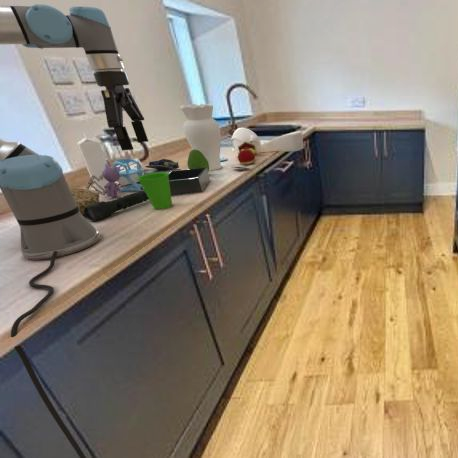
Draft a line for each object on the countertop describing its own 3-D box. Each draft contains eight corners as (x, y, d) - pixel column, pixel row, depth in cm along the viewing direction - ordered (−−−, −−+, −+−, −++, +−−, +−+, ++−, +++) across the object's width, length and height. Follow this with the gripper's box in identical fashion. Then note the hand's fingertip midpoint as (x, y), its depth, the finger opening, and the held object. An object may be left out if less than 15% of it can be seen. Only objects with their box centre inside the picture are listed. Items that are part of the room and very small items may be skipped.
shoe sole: (239, 153, 200) (235, 134, 196) (249, 148, 212) (246, 131, 207) (301, 151, 197) (298, 133, 193) (308, 147, 209) (305, 129, 205)
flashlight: (86, 221, 110) (80, 206, 108) (148, 199, 128) (143, 186, 126) (97, 222, 109) (91, 207, 107) (158, 200, 127) (153, 187, 124)
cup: (164, 212, 115) (153, 179, 110) (141, 211, 117) (129, 179, 112) (184, 203, 123) (175, 172, 118) (162, 202, 125) (152, 171, 120)
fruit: (198, 174, 159) (191, 147, 154) (215, 174, 158) (208, 147, 153) (187, 179, 152) (179, 151, 147) (204, 179, 151) (196, 151, 146)
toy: (232, 157, 186) (217, 161, 177) (232, 159, 186) (218, 163, 178) (212, 156, 190) (197, 160, 182) (212, 157, 191) (197, 162, 182)
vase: (227, 170, 164) (211, 104, 152) (192, 174, 160) (173, 106, 148) (230, 163, 177) (216, 102, 165) (198, 166, 173) (180, 104, 161)
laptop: (230, 169, 163) (230, 165, 162) (240, 169, 168) (240, 165, 167) (240, 171, 159) (239, 167, 159) (250, 171, 164) (250, 166, 164)
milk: (99, 193, 137) (75, 136, 128) (95, 190, 141) (72, 134, 132) (117, 189, 141) (95, 133, 132) (114, 186, 145) (92, 132, 136)
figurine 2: (241, 160, 184) (239, 170, 171) (236, 141, 178) (233, 150, 166) (258, 157, 186) (257, 167, 173) (253, 139, 180) (252, 148, 168)
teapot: (251, 154, 204) (237, 166, 196) (231, 131, 196) (216, 143, 189) (274, 143, 188) (259, 156, 180) (254, 118, 180) (237, 130, 173)
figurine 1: (98, 195, 127) (96, 163, 128) (113, 198, 134) (111, 168, 135) (113, 193, 127) (111, 161, 128) (128, 196, 134) (125, 166, 135)
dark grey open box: (202, 192, 134) (198, 177, 132) (162, 196, 130) (157, 182, 128) (210, 180, 149) (206, 167, 147) (174, 184, 146) (170, 170, 143)
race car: (157, 165, 151) (156, 155, 151) (143, 167, 152) (141, 156, 152) (182, 169, 166) (181, 160, 166) (169, 171, 167) (168, 161, 167)
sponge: (68, 209, 124) (40, 216, 106) (66, 187, 123) (37, 190, 105) (114, 209, 130) (95, 216, 112) (113, 188, 128) (93, 191, 111)
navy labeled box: (181, 168, 159) (166, 174, 150) (183, 175, 161) (168, 181, 152) (143, 168, 161) (126, 174, 152) (145, 174, 162) (128, 180, 153)
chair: (134, 192, 136) (123, 161, 131) (118, 191, 138) (106, 161, 133) (151, 186, 143) (142, 157, 138) (135, 185, 145) (125, 156, 140)
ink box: (114, 177, 142) (115, 163, 149) (121, 187, 145) (122, 173, 153) (137, 170, 144) (137, 157, 152) (144, 180, 148) (144, 166, 155)
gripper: (105, 70, 90) (135, 152, 99) (139, 70, 112) (161, 137, 121) (70, 71, 89) (104, 155, 97) (111, 71, 110) (136, 140, 119)
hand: (136, 145), depth 109 cm, fingers open, 13 cm apart
